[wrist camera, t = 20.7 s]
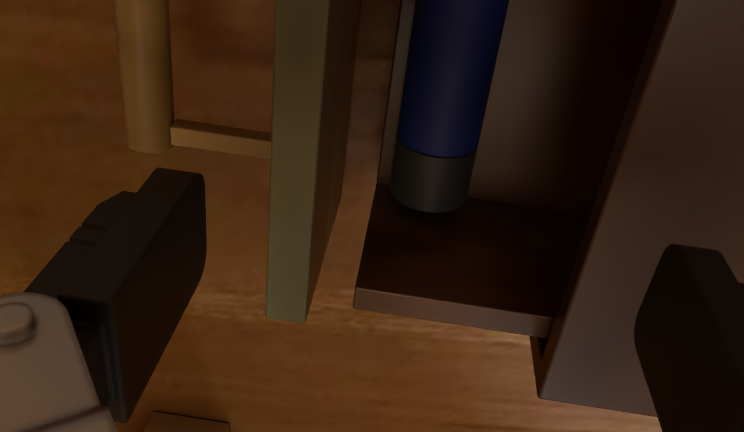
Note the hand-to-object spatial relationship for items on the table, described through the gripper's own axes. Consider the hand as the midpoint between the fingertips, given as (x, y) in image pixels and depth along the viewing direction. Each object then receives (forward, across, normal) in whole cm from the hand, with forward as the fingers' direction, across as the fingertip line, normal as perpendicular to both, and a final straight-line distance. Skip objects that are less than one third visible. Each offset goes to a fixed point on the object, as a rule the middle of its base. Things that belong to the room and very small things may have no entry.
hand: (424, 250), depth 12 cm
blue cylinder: (+11, -1, 0) cm, 11 cm away
